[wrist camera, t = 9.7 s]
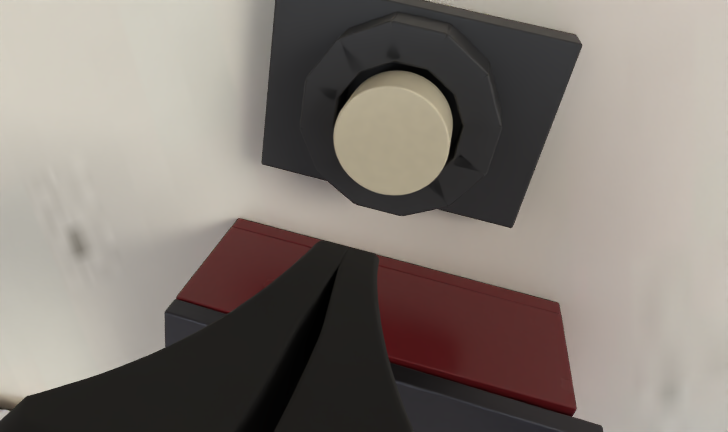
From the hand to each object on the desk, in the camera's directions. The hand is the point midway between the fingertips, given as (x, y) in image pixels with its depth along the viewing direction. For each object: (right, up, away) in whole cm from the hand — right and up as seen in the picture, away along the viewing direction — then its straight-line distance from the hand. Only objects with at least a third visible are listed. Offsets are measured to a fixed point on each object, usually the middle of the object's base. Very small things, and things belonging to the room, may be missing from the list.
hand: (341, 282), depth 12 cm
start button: (+2, +5, +6) cm, 8 cm away
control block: (+2, +6, +8) cm, 10 cm away
